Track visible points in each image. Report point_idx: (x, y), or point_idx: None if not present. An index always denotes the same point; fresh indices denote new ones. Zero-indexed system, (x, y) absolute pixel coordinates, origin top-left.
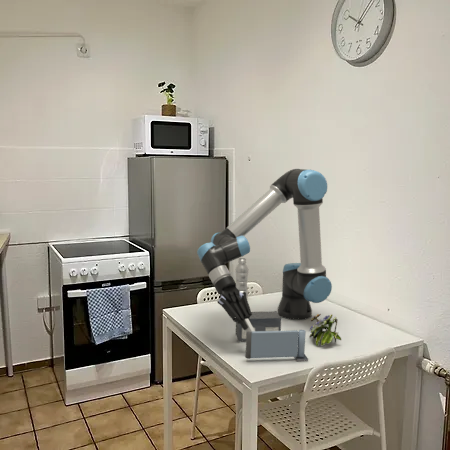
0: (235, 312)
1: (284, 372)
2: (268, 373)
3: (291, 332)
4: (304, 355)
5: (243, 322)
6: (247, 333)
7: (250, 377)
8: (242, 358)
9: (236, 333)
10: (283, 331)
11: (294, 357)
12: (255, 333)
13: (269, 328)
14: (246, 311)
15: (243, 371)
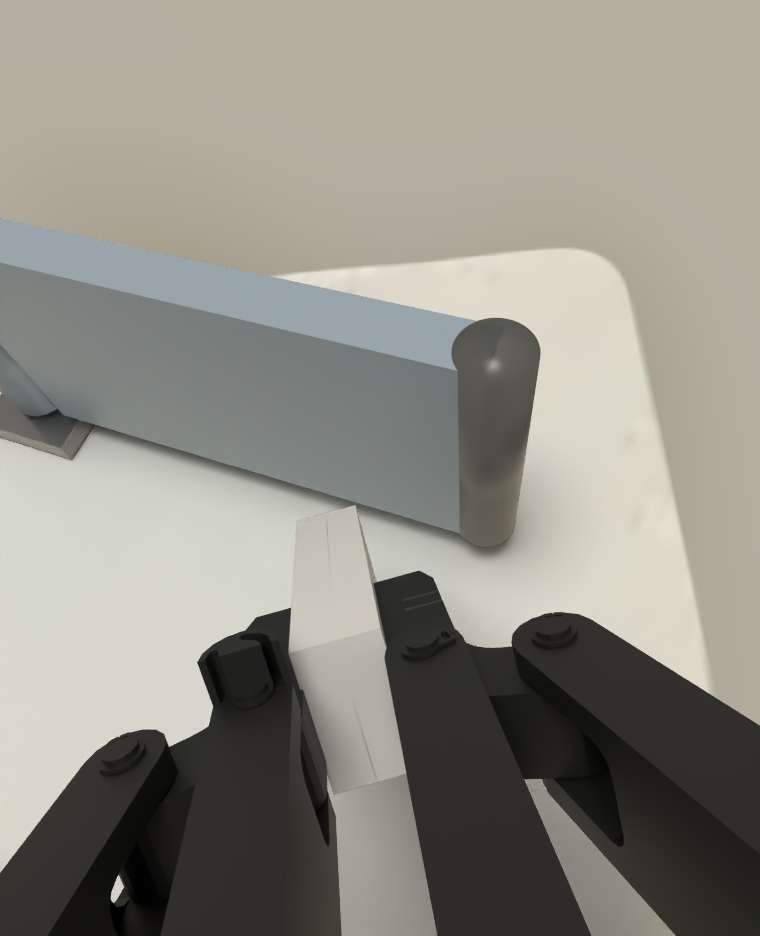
0: (620, 719)
1: (328, 279)
2: (444, 299)
3: (9, 224)
4: (5, 402)
5: (434, 622)
6: (535, 337)
7: (606, 289)
8: (513, 606)
9: None
10: (68, 254)
11: (83, 432)
12: (422, 315)
13: None
14: (193, 800)
15: (619, 379)
